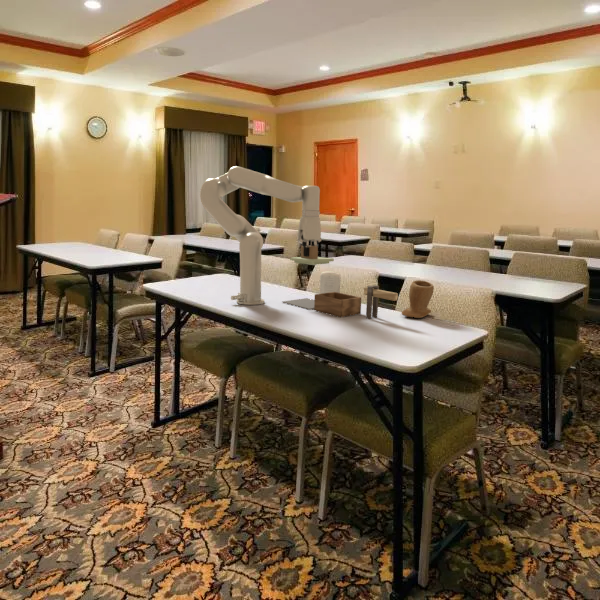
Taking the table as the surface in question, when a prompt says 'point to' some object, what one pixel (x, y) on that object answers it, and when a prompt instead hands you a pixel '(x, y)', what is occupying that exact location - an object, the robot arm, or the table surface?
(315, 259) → the lid
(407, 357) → the table surface
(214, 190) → the robot arm
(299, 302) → the mat
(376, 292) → the tan wooden bar
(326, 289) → the photo printer
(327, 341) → the table surface
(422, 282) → the stone cup
